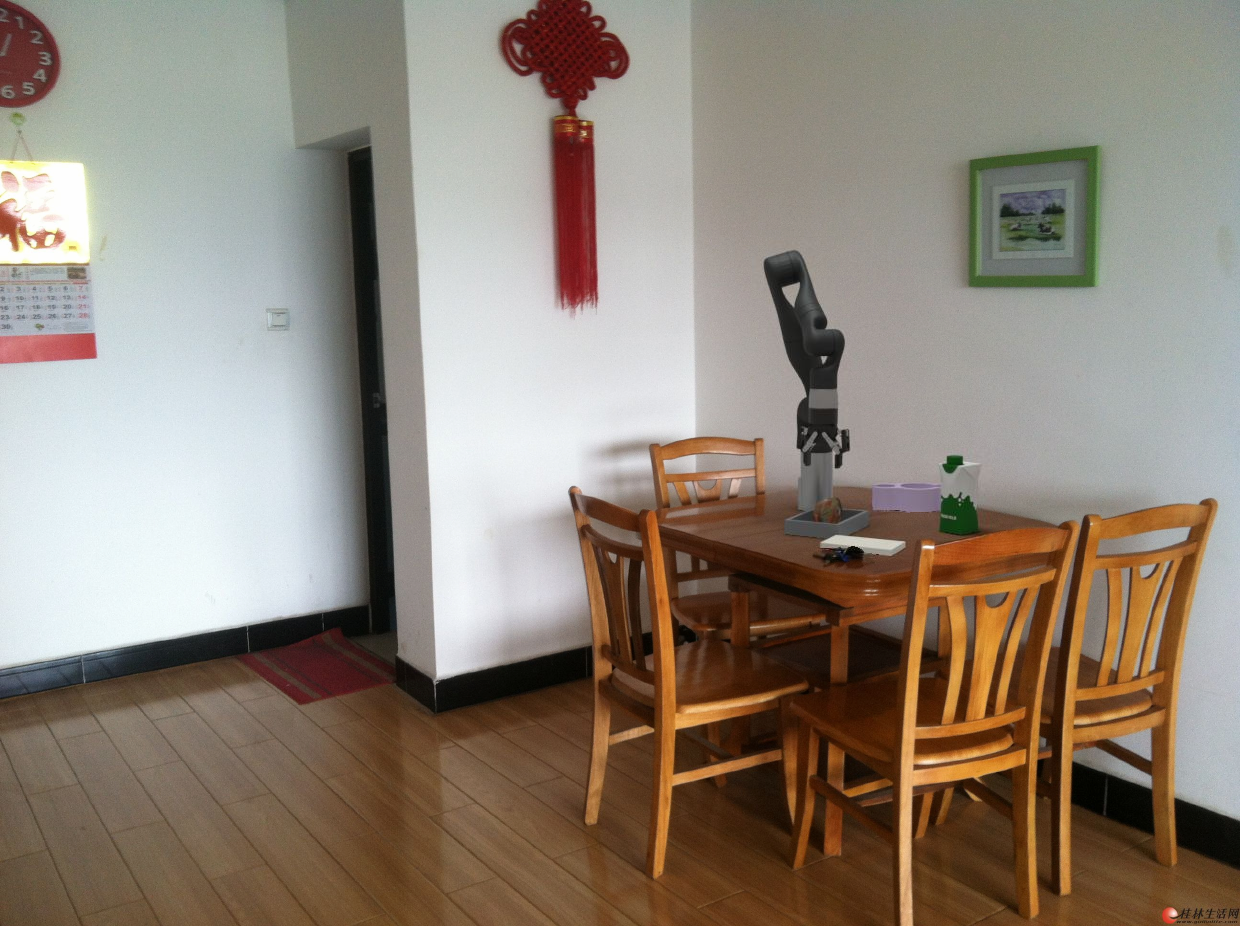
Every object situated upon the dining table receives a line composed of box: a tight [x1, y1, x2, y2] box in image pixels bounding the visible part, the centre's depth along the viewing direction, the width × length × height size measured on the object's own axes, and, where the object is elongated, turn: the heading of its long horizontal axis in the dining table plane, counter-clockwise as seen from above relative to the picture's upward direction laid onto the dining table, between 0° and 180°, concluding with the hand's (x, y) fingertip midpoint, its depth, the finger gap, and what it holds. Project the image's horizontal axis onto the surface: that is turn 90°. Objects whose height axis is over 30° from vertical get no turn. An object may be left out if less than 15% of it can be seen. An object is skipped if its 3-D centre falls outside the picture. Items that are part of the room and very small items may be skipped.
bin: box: [784, 508, 870, 540], centre depth 284 cm, size 15×21×4 cm
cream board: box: [819, 535, 906, 557], centre depth 262 cm, size 18×10×2 cm, turn 56°
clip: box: [871, 481, 941, 513], centre depth 310 cm, size 20×12×7 cm, turn 79°
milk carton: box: [938, 454, 982, 536], centre depth 276 cm, size 9×9×20 cm
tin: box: [813, 497, 843, 524], centre depth 284 cm, size 15×3×8 cm, turn 148°
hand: (822, 467), depth 282 cm, fingers open, 8 cm apart
